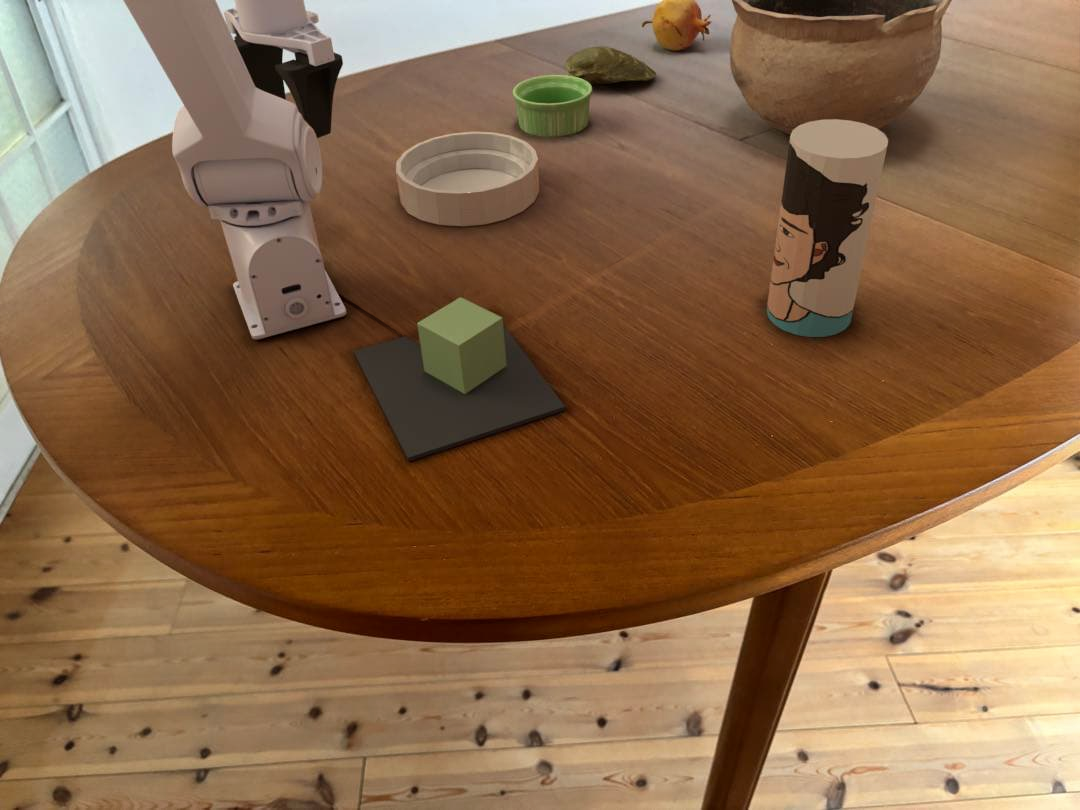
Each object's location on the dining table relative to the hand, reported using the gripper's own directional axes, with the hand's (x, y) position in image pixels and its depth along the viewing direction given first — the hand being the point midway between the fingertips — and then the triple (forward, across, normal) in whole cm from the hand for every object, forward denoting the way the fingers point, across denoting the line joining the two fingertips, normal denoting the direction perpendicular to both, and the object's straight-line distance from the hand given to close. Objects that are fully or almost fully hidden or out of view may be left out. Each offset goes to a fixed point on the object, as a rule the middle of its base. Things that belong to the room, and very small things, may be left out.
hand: (296, 124), depth 86 cm
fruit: (+10, +3, -61) cm, 62 cm away
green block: (+9, -31, +7) cm, 33 cm away
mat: (+9, -31, +8) cm, 33 cm away
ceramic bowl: (+10, -26, -50) cm, 57 cm away
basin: (+9, -9, -13) cm, 18 cm away
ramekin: (+10, -3, -31) cm, 32 cm away
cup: (+10, -46, -17) cm, 50 cm away
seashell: (+10, +2, -45) cm, 46 cm away
